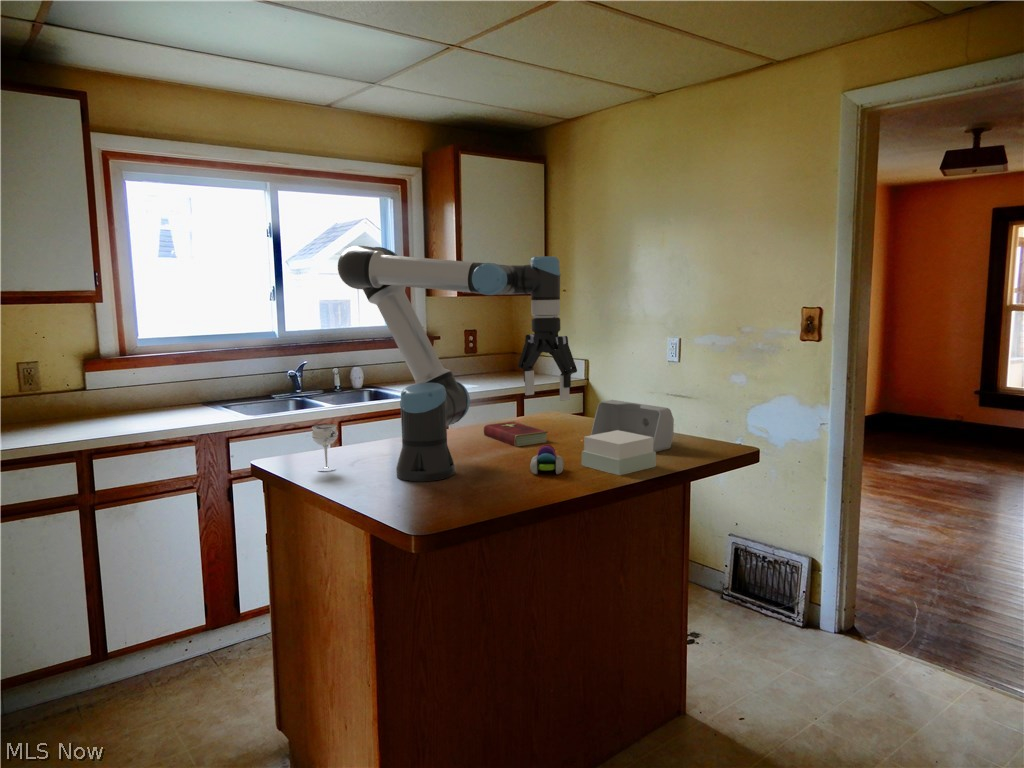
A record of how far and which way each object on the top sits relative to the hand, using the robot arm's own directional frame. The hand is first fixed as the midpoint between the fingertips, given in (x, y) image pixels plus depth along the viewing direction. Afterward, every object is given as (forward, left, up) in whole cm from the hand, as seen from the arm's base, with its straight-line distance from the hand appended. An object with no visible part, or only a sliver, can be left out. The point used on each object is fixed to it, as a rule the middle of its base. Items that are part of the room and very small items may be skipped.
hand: (546, 397), depth 184 cm
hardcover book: (+17, +36, -20) cm, 45 cm away
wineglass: (-46, +38, -19) cm, 63 cm away
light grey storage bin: (+41, +5, -20) cm, 45 cm away
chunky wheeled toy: (-2, -2, -20) cm, 20 cm away
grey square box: (+16, -11, -19) cm, 27 cm away
